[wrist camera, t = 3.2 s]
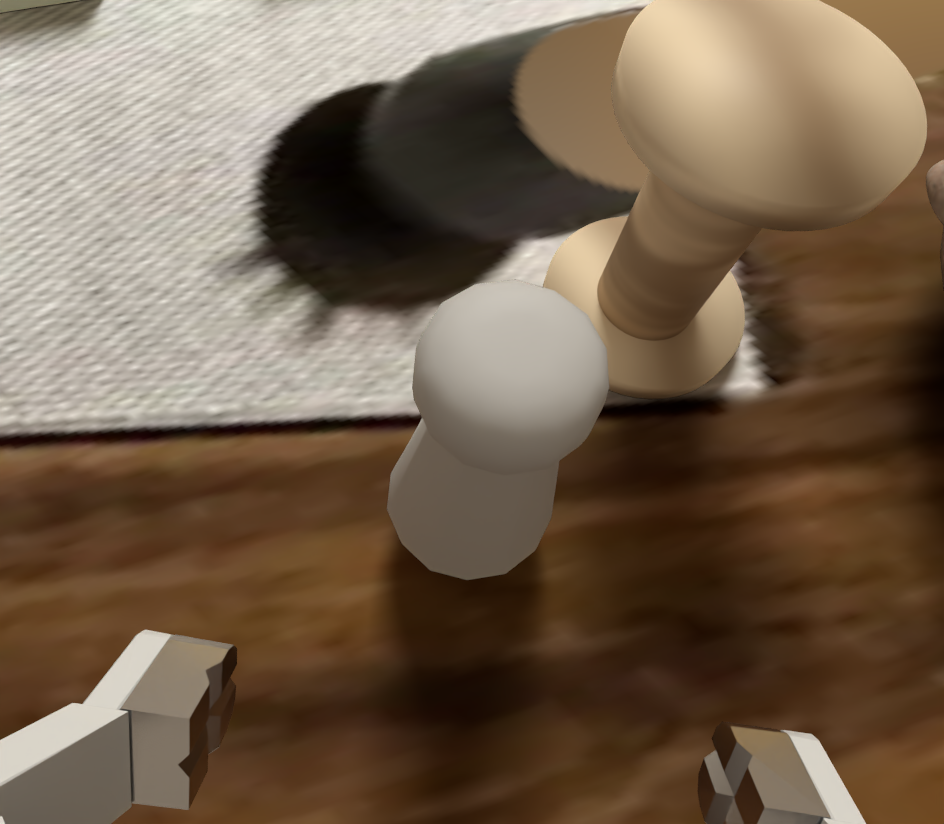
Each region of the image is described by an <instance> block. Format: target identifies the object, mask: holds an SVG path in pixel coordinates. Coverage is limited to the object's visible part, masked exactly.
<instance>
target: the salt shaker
mask: <svg viewBox="0 0 944 824" xmlns="http://www.w3.org/2000/svg"><path fill="white" fill-rule="evenodd" d="M412 389H413V396H414V401H415V403H416V405H417V407H418V409H419V412H420V414H421V416H422V420H421V421H420V423H419V425H418V427H417V429H416V431H415V432H414V434H413V436H412V438H411V440H410V442H409V443H408V445H407V447H406V448H405V450H404V452H403V454H402V455H401V457H400V459H399V460H398V462H397V464H396V465H395V467H394V469H393V470H392V472H391V478H390V487H389V495H388V504H387V510H388V513H389V515H390V517H391V520H392V522H393V524H394V527H395V529H396V532H397V534H398V536H399V539H400V541H401V543H402V544H403V545H404V546H405V547H406V548H407V549H408V550H409V551H410V552H411V553H412V554H413V555H414V556H415V557H416V558H417V559H418V560H420V561H421V562H422V563H423V564H424V565H425V566H426V567H427V568H428V569H429V570H430V571H434V572H438V573H442V574H446V575H449V576H453V577H457V578H461V579H465V580H471V579H477V578H483V577H490V576H496V575H502V574H506V573H507V572H508V571H510V570H511V569H512V568H514V567H515V566H516V565H517V564H519V563H520V562H521V561H523V560H524V559H525V558H526V557H528V556H529V555H530V554H532V553H533V552H534V551H535V550H536V548H537V546H538V544H539V542H540V540H541V538H542V536H543V534H544V532H545V530H546V528H547V526H548V524H549V522H550V520H551V516H552V508H553V501H554V494H555V487H556V480H557V473H558V466H559V461H560V460H561V459H562V458H564V457H565V456H566V455H568V454H569V453H571V452H572V451H573V450H575V449H576V448H577V447H579V446H580V445H581V444H582V443H583V442H584V440H585V439H586V438H587V437H588V436H589V434H590V432H591V430H592V428H593V426H594V424H595V422H596V420H597V418H598V416H599V414H600V412H601V410H602V408H603V406H604V404H605V402H606V398H607V394H608V390H609V375H608V361H607V349H606V347H605V345H604V343H603V341H602V340H601V338H600V336H599V334H598V332H597V331H596V329H595V327H594V325H593V324H592V322H591V320H590V318H589V316H588V315H587V314H586V313H585V312H583V311H582V310H581V309H579V308H578V307H576V306H575V305H574V304H572V303H571V302H570V301H568V300H567V299H566V298H564V297H563V296H561V295H560V294H559V293H557V292H556V291H554V290H551V289H547V288H544V287H540V286H537V285H533V284H530V283H526V282H523V281H519V280H516V279H515V280H506V281H498V282H489V283H481V284H475V285H473V286H471V287H470V288H468V289H466V290H464V291H462V292H461V293H459V294H457V295H455V296H453V297H452V298H450V299H448V300H446V301H444V302H443V303H441V305H440V307H439V308H438V310H437V311H436V313H435V314H434V316H433V317H432V319H431V321H430V322H429V324H428V325H427V327H426V328H425V330H424V331H423V333H422V335H421V337H420V339H419V342H418V344H417V347H416V353H415V364H414V375H413V386H412Z"/></svg>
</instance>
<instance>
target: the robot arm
mask: <svg viewBox="0 0 944 824" xmlns="http://www.w3.org/2000/svg"><path fill="white" fill-rule="evenodd" d="M236 665H237V648H236V647H235V646H234V645H230V644H225V643H219V642H214V641H208V640H203V639H197V638H192V637H186V636H181V635H171V634H165V633H160V632H155V631H150V630H144V631H142V632H140V633H139V634H137V635H136V636H135V637H134V639H133V640H132V641H131V643H130V644H129V645H128V646H127V648H126V649H125V650H124V651H123V653H122V654H121V655H120V657H119V658H118V659H117V660H116V662H115V663H114V664H113V666H112V667H111V668H110V669H109V671H108V672H107V673H106V675H105V676H104V677H103V678H102V680H101V681H100V682H99V684H98V685H97V686H96V687H95V689H94V690H93V691H92V692H91V694H90V695H89V696H88V698H87V699H86V700H85V701H84V703H83V704H77V703H72V704H70V705H68V706H66V707H64V708H62V709H60V710H58V711H56V712H54V713H52V714H50V715H48V716H46V717H44V718H43V719H41V720H39V721H37V722H35V723H33V724H31V725H29V726H27V727H25V728H23V729H21V730H19V731H17V732H15V733H13V734H11V735H9V736H7V737H6V738H4V739H2V740H0V824H111V823H112V822H113V821H114V820H116V819H117V818H118V817H119V816H121V815H122V814H123V813H124V812H126V811H127V810H128V809H129V808H131V803H135V804H143V805H152V806H160V807H169V808H177V809H185V810H189V808H190V806H191V804H192V802H193V800H194V798H195V796H196V794H197V792H198V790H199V788H200V786H201V784H202V782H203V780H204V777H205V775H206V773H207V771H208V754H209V753H211V752H212V751H214V750H215V749H217V748H218V747H219V746H220V744H221V742H222V740H223V738H224V736H225V733H226V731H227V728H228V725H229V722H230V719H231V716H232V713H233V707H234V702H235V693H236V685H235V684H234V682H233V681H232V680H231V678H230V677H231V675H232V673H233V671H234V669H235V667H236ZM712 740H713V743H714V746H715V749H716V750H715V751H714V752H712V753H711V754H709V755H708V756H706V757H705V758H704V759H703V762H702V765H701V768H700V771H699V777H698V797H699V804H700V808H701V811H702V815H703V818H704V821H705V822H706V823H707V824H866V823H865V821H864V819H863V817H862V816H861V814H860V812H859V810H858V808H857V807H856V805H855V803H854V801H853V800H852V798H851V796H850V794H849V793H848V791H847V789H846V787H845V786H844V784H843V782H842V780H841V779H840V777H839V775H838V773H837V772H836V770H835V768H834V766H833V765H832V763H831V761H830V759H829V758H828V756H827V754H826V752H825V751H824V749H823V747H822V745H821V743H820V742H819V740H818V739H817V738H816V737H814V736H813V735H812V734H808V733H801V732H793V731H786V730H777V729H771V728H764V727H757V726H750V725H743V724H737V723H730V722H723V721H722V722H721V723H720V724H719V725H718V726H717V727H716V729H715V732H714V734H713V736H712Z"/></svg>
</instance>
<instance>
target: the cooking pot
mask: <svg viewBox="0 0 944 824" xmlns="http://www.w3.org/2000/svg"><path fill="white" fill-rule="evenodd" d="M926 188H927V193H928V197H929V200H930V203H931V206H932V208H933V210H934V212H935V214H936V215H937V217H938V219H939V220H940V221H941V223H942V224H943V226H944V160H942V161H940V162H938V163H937V164H935V165H934V166H933V167H932V168H931V169H930V170H929V171H928V173H927V176H926ZM940 260H941V270H942V280H943V289H944V227H943V235H942V243H941V250H940Z"/></svg>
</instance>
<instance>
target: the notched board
mask: <svg viewBox="0 0 944 824" xmlns="http://www.w3.org/2000/svg"><path fill="white" fill-rule="evenodd" d="M72 1H79V0H0V13H2V12H8V11H15V10H21V9H27V8H34V7H40V6H47V5H53V4H60V3H66V2H72Z"/></svg>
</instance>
